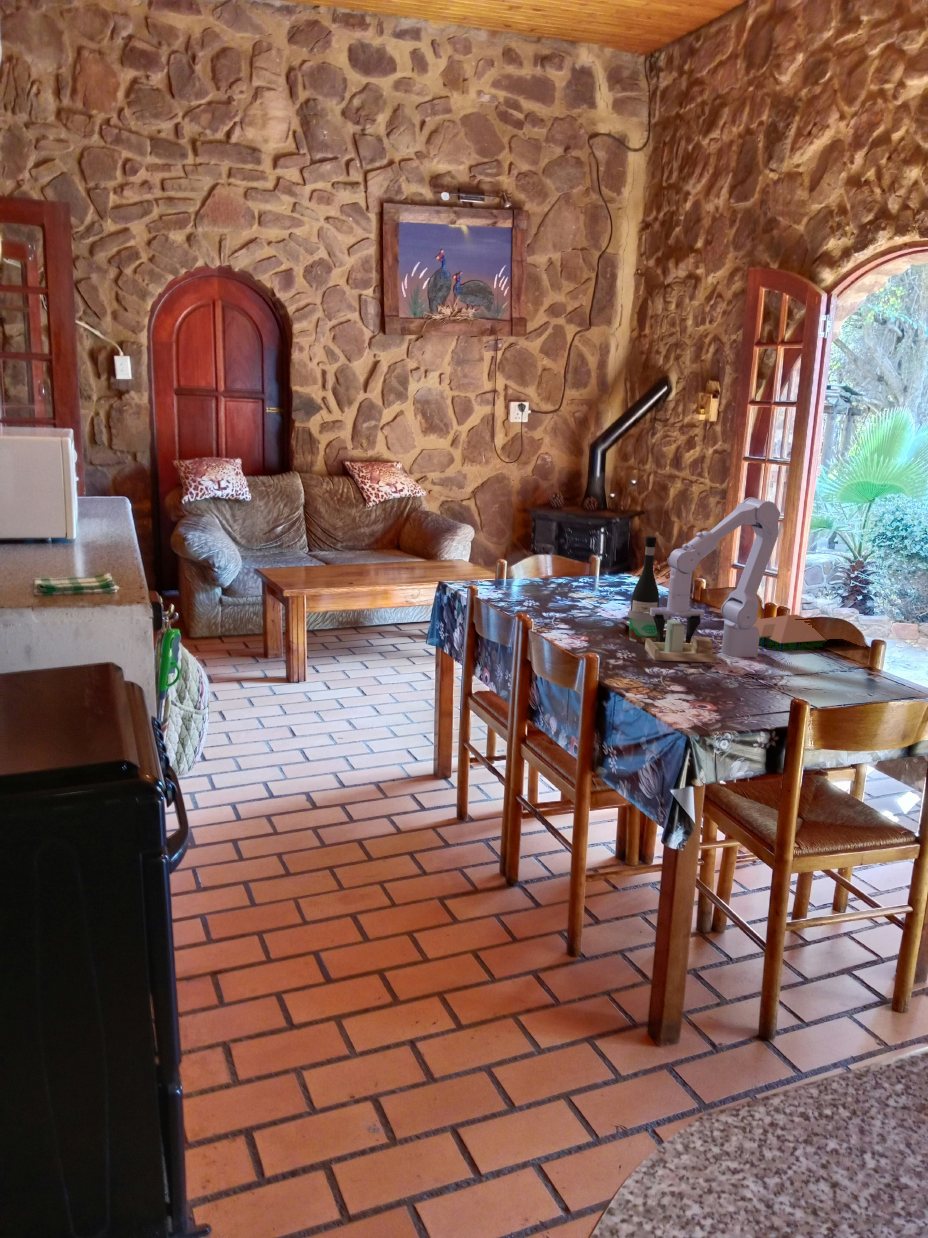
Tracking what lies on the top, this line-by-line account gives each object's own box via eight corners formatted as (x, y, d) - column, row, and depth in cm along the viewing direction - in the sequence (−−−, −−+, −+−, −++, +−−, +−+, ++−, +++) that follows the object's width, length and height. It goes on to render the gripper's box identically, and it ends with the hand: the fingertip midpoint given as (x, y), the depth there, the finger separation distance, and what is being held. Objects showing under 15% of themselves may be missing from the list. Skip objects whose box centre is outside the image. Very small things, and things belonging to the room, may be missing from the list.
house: (723, 634, 305) (726, 608, 303) (809, 628, 317) (812, 603, 315) (771, 654, 285) (775, 626, 283) (861, 647, 297) (865, 621, 295)
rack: (707, 654, 280) (709, 640, 279) (719, 665, 269) (721, 651, 268) (644, 652, 279) (645, 638, 278) (653, 663, 268) (655, 649, 267)
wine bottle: (655, 641, 290) (665, 539, 283) (627, 639, 292) (636, 537, 285) (655, 635, 298) (665, 535, 291) (628, 632, 300) (637, 533, 292)
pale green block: (674, 651, 277) (678, 620, 275) (681, 658, 270) (684, 626, 268) (664, 651, 277) (667, 619, 275) (670, 658, 270) (673, 626, 268)
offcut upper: (706, 644, 276) (707, 637, 276) (711, 649, 271) (712, 642, 271) (693, 644, 276) (694, 636, 275) (698, 649, 271) (699, 641, 270)
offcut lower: (705, 653, 277) (706, 644, 277) (711, 659, 271) (712, 650, 271) (691, 652, 277) (692, 643, 276) (697, 658, 271) (698, 649, 271)
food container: (633, 648, 282) (636, 614, 279) (624, 643, 288) (627, 609, 285) (673, 647, 285) (676, 613, 283) (663, 642, 291) (666, 608, 288)
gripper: (656, 595, 265) (651, 645, 268) (709, 597, 266) (704, 646, 269) (650, 590, 272) (645, 638, 275) (702, 592, 273) (696, 640, 276)
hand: (673, 642), depth 273 cm, fingers open, 7 cm apart
